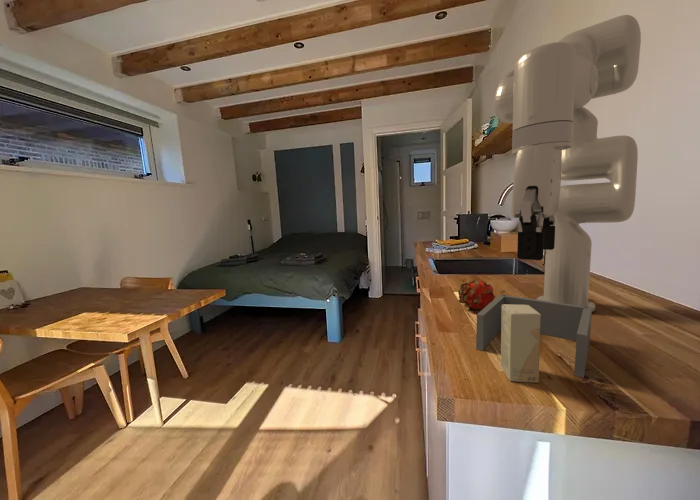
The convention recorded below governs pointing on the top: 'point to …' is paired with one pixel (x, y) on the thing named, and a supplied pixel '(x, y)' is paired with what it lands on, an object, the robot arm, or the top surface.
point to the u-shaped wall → (542, 324)
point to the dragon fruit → (476, 294)
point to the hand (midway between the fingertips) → (536, 253)
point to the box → (520, 342)
